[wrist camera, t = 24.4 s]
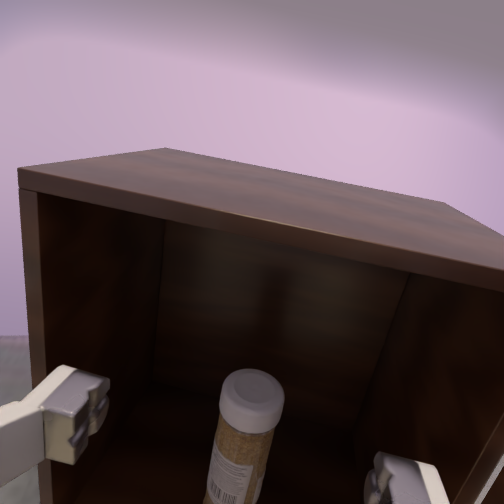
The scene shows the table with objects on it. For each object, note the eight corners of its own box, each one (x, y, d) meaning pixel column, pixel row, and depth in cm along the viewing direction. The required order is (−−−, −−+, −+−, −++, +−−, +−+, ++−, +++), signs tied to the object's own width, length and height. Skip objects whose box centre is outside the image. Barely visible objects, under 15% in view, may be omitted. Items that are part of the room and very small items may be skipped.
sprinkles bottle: (264, 518, 30) (299, 395, 25) (221, 556, 26) (251, 424, 22) (231, 475, 33) (256, 358, 28) (189, 504, 30) (209, 379, 25)
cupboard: (388, 647, 24) (602, 290, 14) (42, 539, 26) (16, 167, 16) (357, 434, 41) (444, 202, 31) (146, 379, 43) (165, 147, 33)
